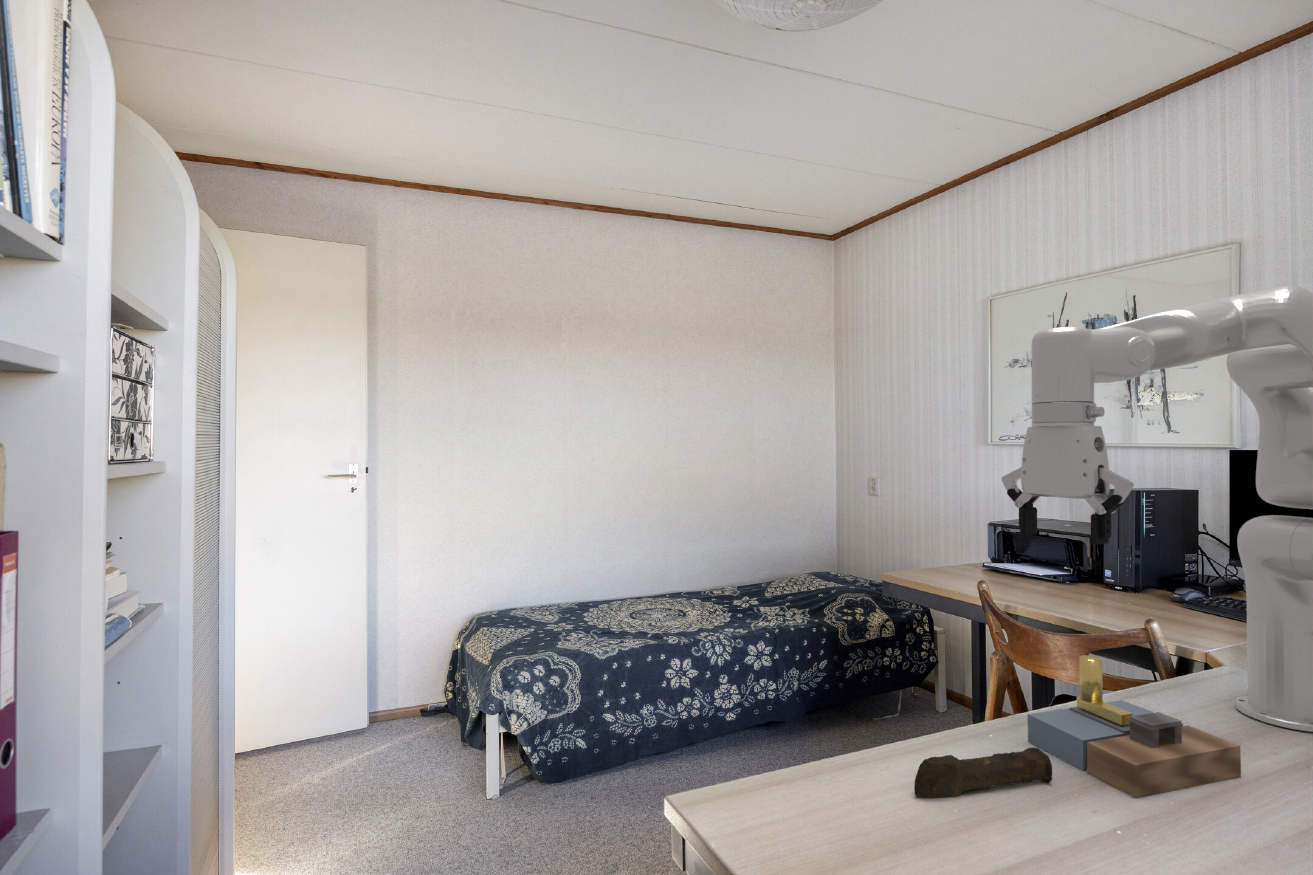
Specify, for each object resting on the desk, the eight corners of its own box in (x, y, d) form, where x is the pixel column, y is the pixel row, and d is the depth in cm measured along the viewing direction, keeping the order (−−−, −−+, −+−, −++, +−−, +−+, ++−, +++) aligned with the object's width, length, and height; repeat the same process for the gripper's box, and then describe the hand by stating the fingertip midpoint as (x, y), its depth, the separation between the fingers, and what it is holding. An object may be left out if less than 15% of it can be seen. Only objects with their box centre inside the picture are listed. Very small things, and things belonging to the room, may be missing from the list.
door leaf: (1122, 726, 103) (1122, 698, 103) (1183, 752, 94) (1183, 721, 94) (1028, 741, 98) (1027, 711, 98) (1083, 770, 89) (1082, 737, 89)
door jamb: (1187, 754, 94) (1187, 704, 94) (1240, 776, 87) (1240, 723, 87) (1087, 772, 88) (1086, 719, 89) (1135, 797, 82) (1135, 741, 82)
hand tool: (1031, 772, 89) (1030, 737, 89) (1054, 786, 85) (1054, 750, 85) (902, 788, 85) (902, 751, 85) (921, 805, 81) (920, 766, 82)
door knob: (1089, 704, 100) (1088, 654, 100) (1135, 722, 93) (1134, 669, 93) (1074, 706, 99) (1074, 656, 99) (1119, 725, 92) (1118, 671, 92)
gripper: (1145, 415, 89) (1146, 545, 88) (1018, 419, 104) (1018, 530, 103) (1115, 413, 85) (1116, 549, 85) (988, 418, 100) (988, 533, 100)
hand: (1062, 539), depth 94 cm, fingers open, 9 cm apart
